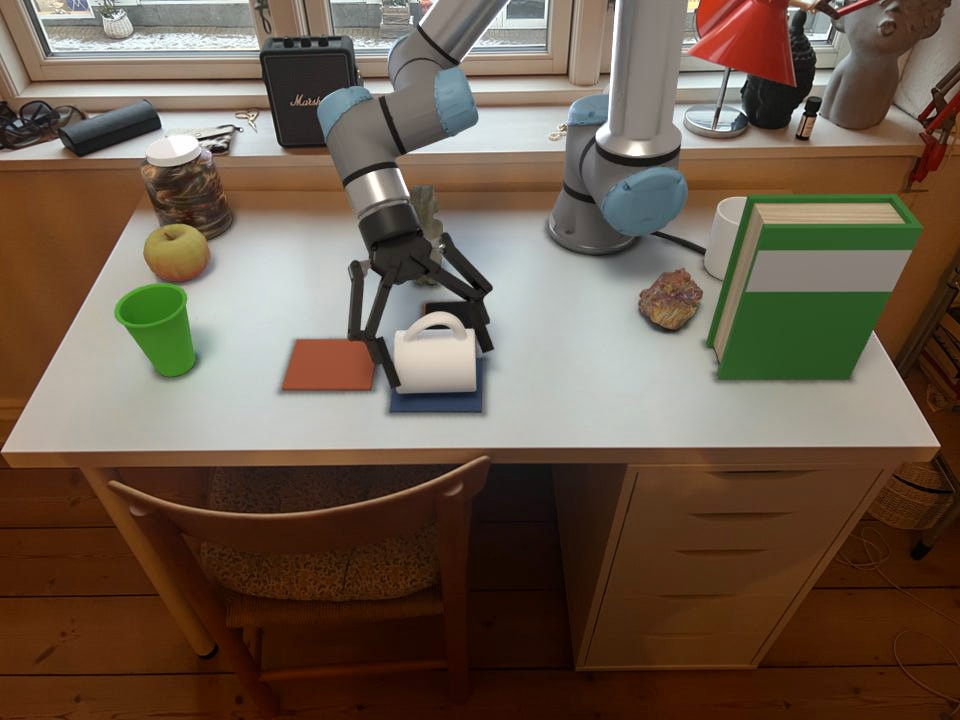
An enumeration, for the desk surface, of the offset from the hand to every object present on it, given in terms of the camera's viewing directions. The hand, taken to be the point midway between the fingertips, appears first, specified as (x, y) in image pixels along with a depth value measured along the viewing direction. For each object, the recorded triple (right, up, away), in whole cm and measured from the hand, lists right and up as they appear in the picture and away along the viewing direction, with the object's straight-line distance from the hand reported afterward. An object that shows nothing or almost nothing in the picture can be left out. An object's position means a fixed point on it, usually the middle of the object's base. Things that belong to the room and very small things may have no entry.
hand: (443, 369), depth 90 cm
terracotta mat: (-16, +1, +8) cm, 18 cm away
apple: (-44, +15, +25) cm, 53 cm away
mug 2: (+45, +15, +23) cm, 53 cm away
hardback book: (+46, +1, +8) cm, 47 cm away
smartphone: (0, +4, +12) cm, 13 cm away
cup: (-38, 0, +9) cm, 39 cm away
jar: (-46, +25, +35) cm, 63 cm away
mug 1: (-1, -2, +5) cm, 5 cm away
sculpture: (-4, +15, +23) cm, 28 cm away
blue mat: (-1, -2, +5) cm, 6 cm away
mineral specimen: (+33, +9, +16) cm, 38 cm away
